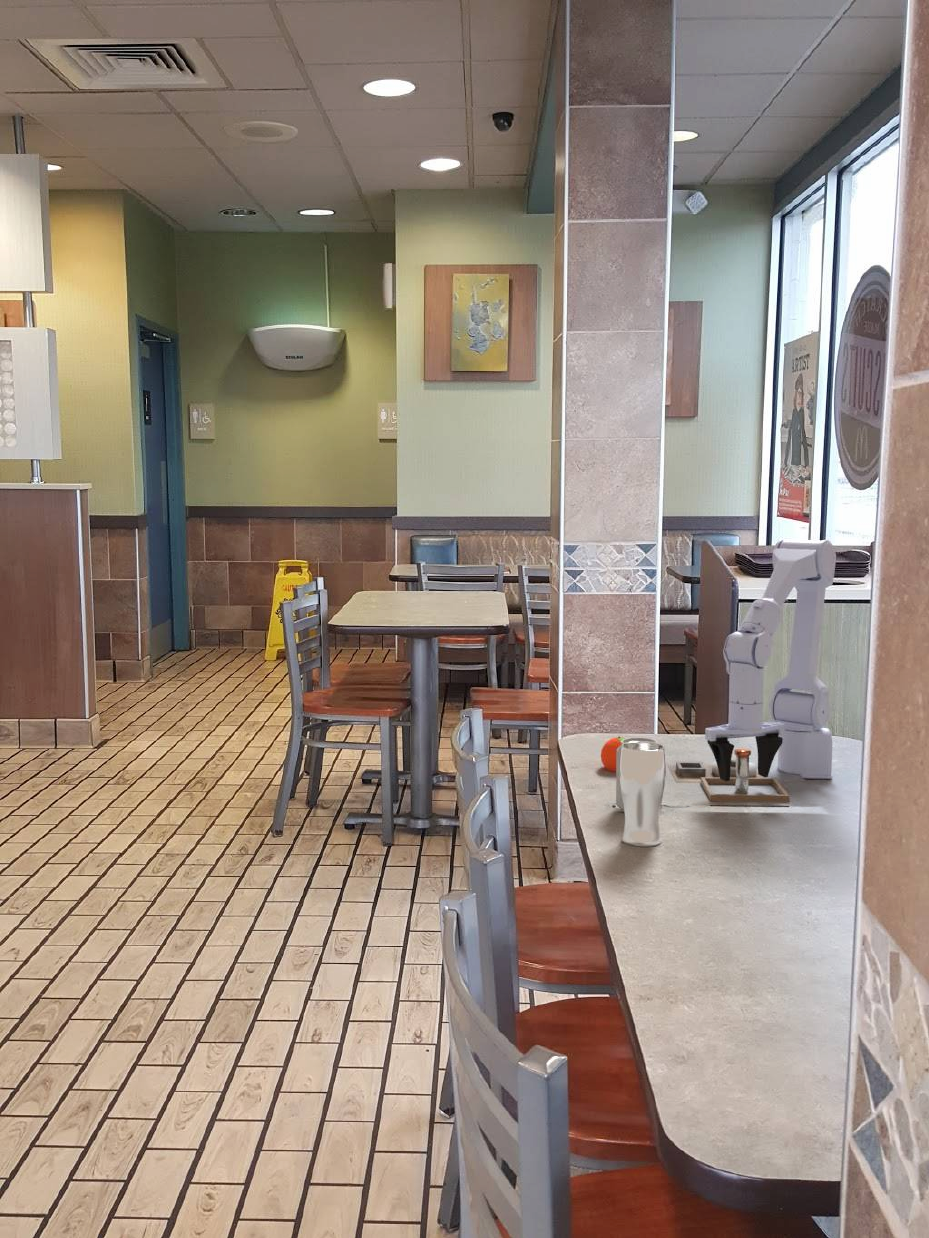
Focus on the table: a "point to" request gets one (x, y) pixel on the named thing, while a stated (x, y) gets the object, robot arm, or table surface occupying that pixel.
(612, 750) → the clementine
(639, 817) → the beer glass
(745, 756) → the lock pin
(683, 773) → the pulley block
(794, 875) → the table surface
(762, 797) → the tray
